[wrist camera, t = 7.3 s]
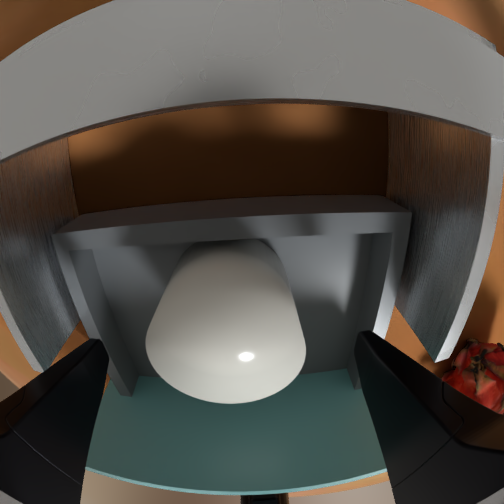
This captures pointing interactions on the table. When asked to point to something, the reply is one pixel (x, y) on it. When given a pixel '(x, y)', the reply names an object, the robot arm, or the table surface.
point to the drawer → (250, 413)
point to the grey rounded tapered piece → (227, 324)
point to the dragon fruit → (480, 374)
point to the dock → (258, 92)
